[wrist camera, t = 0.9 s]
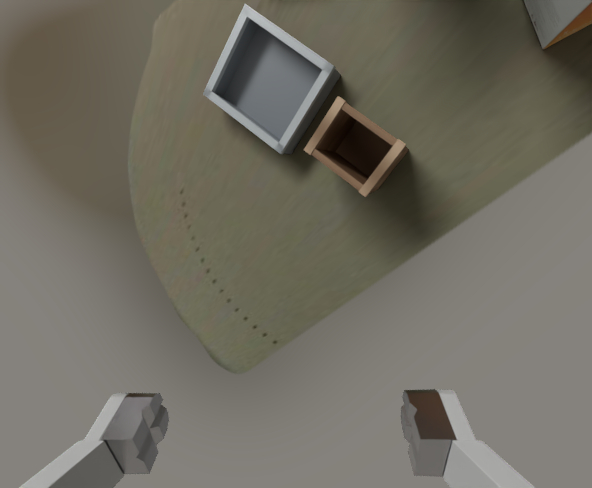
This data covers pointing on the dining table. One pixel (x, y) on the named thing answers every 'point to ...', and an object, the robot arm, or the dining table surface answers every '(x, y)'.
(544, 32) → the small box
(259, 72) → the tray
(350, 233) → the dining table surface
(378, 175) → the walnut crate
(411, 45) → the dining table surface
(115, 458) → the robot arm
